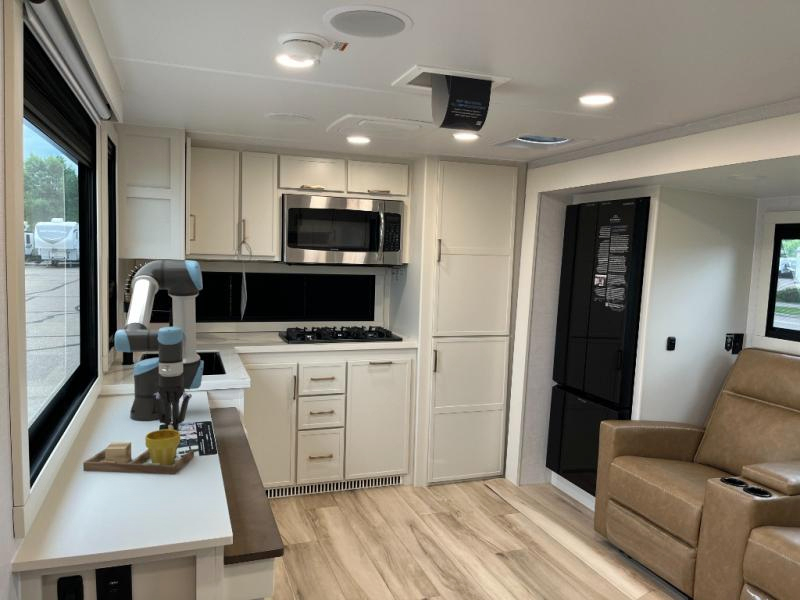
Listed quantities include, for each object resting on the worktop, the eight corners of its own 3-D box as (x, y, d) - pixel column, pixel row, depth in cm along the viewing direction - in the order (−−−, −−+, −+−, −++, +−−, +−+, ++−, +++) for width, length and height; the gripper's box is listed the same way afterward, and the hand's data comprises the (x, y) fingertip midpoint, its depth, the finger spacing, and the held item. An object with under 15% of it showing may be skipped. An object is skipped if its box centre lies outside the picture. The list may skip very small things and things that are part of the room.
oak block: (112, 460, 192) (111, 442, 191) (131, 459, 192) (131, 442, 192) (105, 467, 186) (105, 448, 185) (125, 466, 186) (125, 448, 186)
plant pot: (168, 471, 184) (167, 440, 183) (139, 467, 186) (138, 437, 185) (186, 459, 194) (186, 430, 193) (159, 456, 196) (158, 427, 195)
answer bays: (109, 453, 197) (109, 444, 197) (193, 456, 196) (193, 448, 196) (83, 470, 182) (83, 461, 182) (174, 474, 181) (174, 465, 181)
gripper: (146, 376, 190) (148, 446, 192) (185, 377, 189) (187, 447, 192) (156, 370, 197) (158, 438, 200) (194, 372, 197) (196, 440, 199)
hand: (172, 443), depth 196 cm, fingers closed
